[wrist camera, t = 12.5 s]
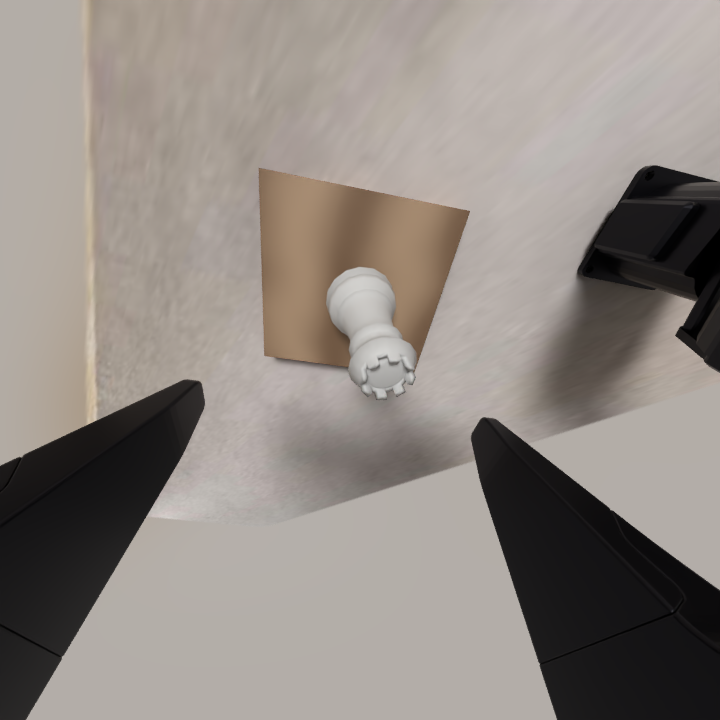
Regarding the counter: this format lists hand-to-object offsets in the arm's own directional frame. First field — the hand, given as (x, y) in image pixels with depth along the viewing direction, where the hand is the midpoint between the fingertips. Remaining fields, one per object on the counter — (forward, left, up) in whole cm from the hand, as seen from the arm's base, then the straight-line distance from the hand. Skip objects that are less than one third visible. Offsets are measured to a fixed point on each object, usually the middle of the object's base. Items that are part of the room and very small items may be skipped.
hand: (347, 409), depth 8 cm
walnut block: (0, 0, -14) cm, 14 cm away
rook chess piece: (-1, 0, -11) cm, 11 cm away
